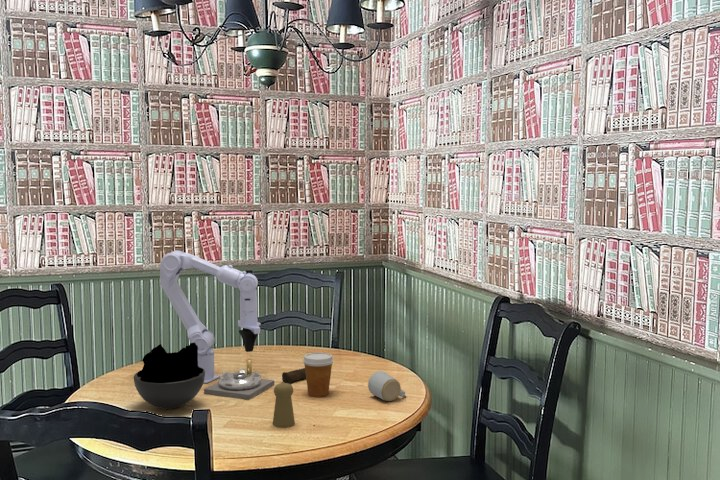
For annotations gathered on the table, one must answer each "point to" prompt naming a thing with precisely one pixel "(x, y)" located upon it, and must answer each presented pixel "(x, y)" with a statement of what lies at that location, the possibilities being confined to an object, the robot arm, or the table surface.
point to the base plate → (240, 394)
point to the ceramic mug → (385, 386)
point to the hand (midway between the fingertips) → (249, 351)
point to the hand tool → (293, 375)
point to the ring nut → (240, 379)
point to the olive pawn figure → (283, 406)
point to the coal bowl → (170, 377)
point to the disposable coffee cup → (318, 373)
